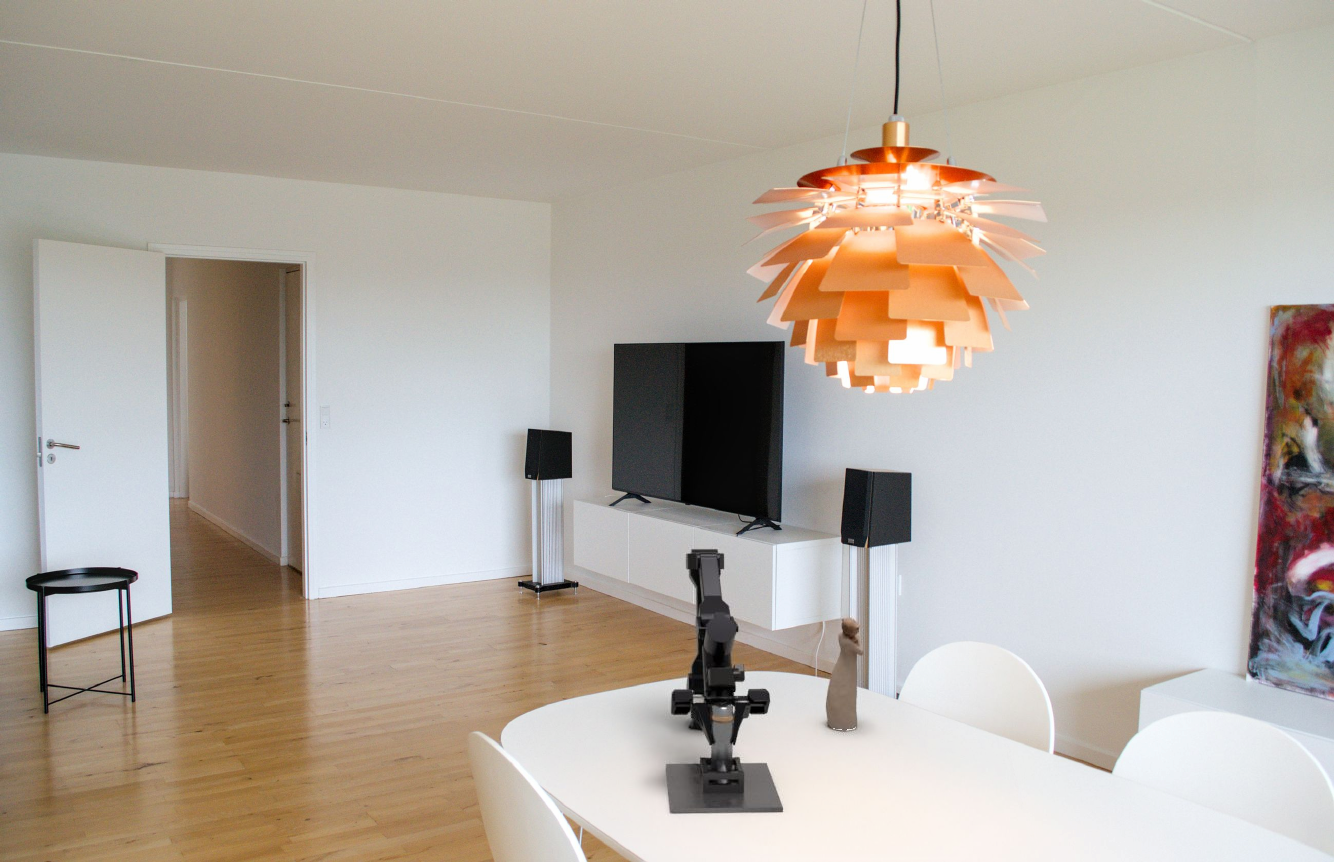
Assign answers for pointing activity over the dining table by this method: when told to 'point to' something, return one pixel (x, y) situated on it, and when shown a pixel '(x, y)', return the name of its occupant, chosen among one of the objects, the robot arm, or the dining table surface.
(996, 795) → the dining table surface
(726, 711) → the grey metal cylinder
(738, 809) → the collar stand
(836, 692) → the figurine
